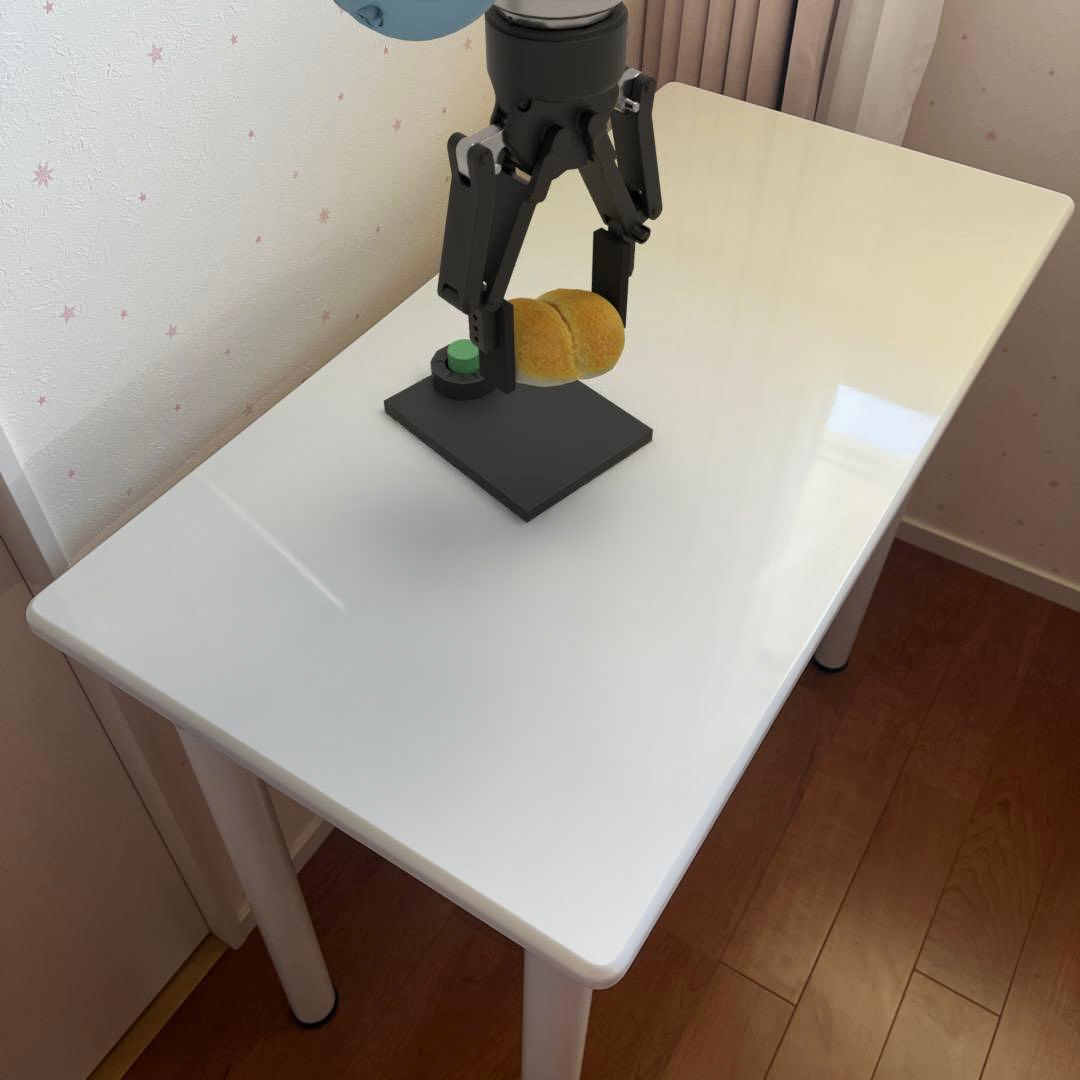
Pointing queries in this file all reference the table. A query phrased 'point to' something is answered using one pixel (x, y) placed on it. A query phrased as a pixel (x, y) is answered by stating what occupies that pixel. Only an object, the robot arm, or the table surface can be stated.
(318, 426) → the table surface
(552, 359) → the bread roll
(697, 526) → the table surface
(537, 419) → the scale
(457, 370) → the button
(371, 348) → the table surface
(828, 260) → the table surface
